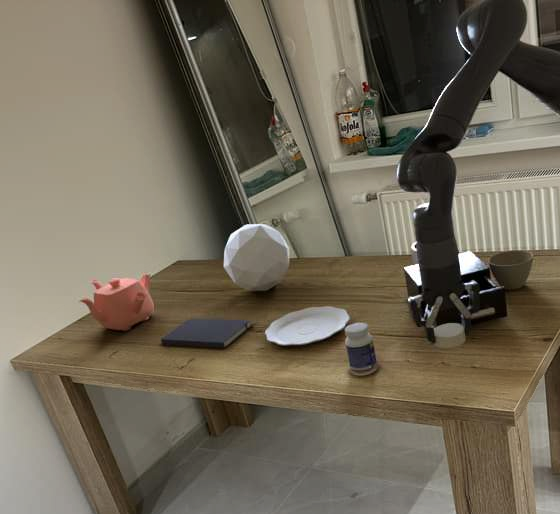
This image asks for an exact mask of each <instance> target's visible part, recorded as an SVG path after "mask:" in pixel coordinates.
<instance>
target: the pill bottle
mask: <svg viewBox="0 0 560 514" xmlns="http://www.w3.org/2000/svg"><path fill="white" fill-rule="evenodd" d="M344 333H345V336H346V338H345V339H344V340H345V341H344V344H345V349H346V354H347V359H348V365H349V369H350V372H351V374H353V375H355V376H358V377H359V376H368V375H371V374H373V373H374V372H376V371H377V369H378V359H377V356H376V350H375V344H374V339H373V336H372V334H371V333H369V326H368V324H367V323H365V322H354V323H352V324H349V325H347V326H345V327H344Z"/></svg>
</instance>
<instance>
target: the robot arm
mask: <svg viewBox="0 0 560 514" xmlns="http://www.w3.org/2000/svg"><path fill="white" fill-rule="evenodd" d="M527 24H528V9H527V6H526V3H525V1H524V0H480V1H478V2H477V3H474V4H473V5H471V6H469V7H468V8H466V9H465V10H464V11H463V12H462V13H461V14H460V16H459V18H458V19H457V23H456V33H457V38H458V40H459V42H460V44H461V46H462V47H463V48H464V50H465V51H466V52H467V53H468V55H470V57H469V58H468V59H467V61H466V63H464V65H463V66H462V67H461V68H460V70H459V71H458V72H457V73H456V75H454V77H453V78H452V79H451V80H450V82H449V83H448V84H447V85H446V86H445V88H444V90H443V91H442V92H441V95H440V96H439V97H438V99H437V101H436V103H435V106H434V107H433V109H432V112H431V113H430V116H429V118H428V120H427V123H426V125H425V126H424V128H423V129H422V130H421V131H420V132H419V133H418V134H417V136H416V137H415V138H414V139H413V141H412V142H411V143H410V144H409V145H408V146H407V148H406V149H405V151H404V152H403V153H402V156H401V157H400V158H399V161H398V163H397V168H396V181H397V184H398V186H399V187H400V189H402V190H403V191H404V192H407V193H412V194H413V193H418V194H419V193H420V194H422V193H423V194H425V193H426V194H429V198H428V202H426V203H422V204H420V205H418V206H417V207H416V208H415V209H414V210H413V212H412V223H413V229H414V236H415V243H416V251H417V258H418V265H419V271H420V278H421V284H422V291H421V294H420V295H418V296H415V297H412V296H409V297H408V296H407V298H406V301H407V305H408V307H409V311H410V315H411V318H412V321H413V323H414V324H415V326H416V327H417V328H424V333H425V334H424V335H425V338H426V340H427V341H428V343H431V345H435V344H434V343H436V341H435V334H434V329H435V328H434V326H433V323H434V318H436V316H437V313H438V311H443V310H445V309H451V308H454V306H456V307H457V308H458V309H459V310H460V312H461V313H462V315H461V322H462V325H463V326H464V328H465V336H469V335H470V332H472V331H473V327H472V326H473V325H471V315H472V314H474V313H478V312H479V310H480V285H479V284H478V283H477V282H476V281H475V280H471V281H470V283H463V282H462V278H461V270H460V262H459V254H460V251H459V248H458V242H457V238H456V235H455V227H454V219H453V205H454V199H455V198H454V197H455V192H456V191H455V190H456V184H457V179H458V178H457V177H458V169H457V165H456V162H455V160H454V158H453V156H452V155H451V154H449V152H451V151H453V150H456V149H457V148H458V147H459V146H460V145H461V143H462V141H463V140H464V137H465V136H466V133H467V131H468V129H469V127H470V124H471V123H472V120H473V118H474V116H475V113H476V112H477V109H478V108H479V105H480V104H481V101H482V100H483V98H484V97H485V95H486V93H487V91H488V89H489V88H490V86H491V85H492V83H493V81H494V80H495V78H496V76H497V75H498V74H499V73H501V74H502V75H503V76H505V77H506V78H508V79H509V80H511V81H512V82H513V83H514V84H516V85H517V86H518V87H520V88H521V89H523V90H524V91H525V92H527V93H528V94H529V95H531V96H532V97H533V98H535V100H536V101H538V102H539V103H540V104H542V105H543V106H544V107H545V108H547V109H548V110H550V111H551V112H552V113H554V114H555V115H556V116H558V117H559V118H560V51H558V50H554V49H551V48H548V47H543V46H538V45H535V44H532V43H531V44H530V43H527V42H524V41H522V40H521V38H522V37H523V35H524V33H525V31H526V27H527ZM465 289H466V290H467V292H468V293H469V306H468V307H467V308H466V307H465V306H464V305H463V303H462V302H461V301H460V298H461V296H462V294H463V293H464V291H465ZM422 300H423V301H424V302H426V303H427V307H426V310H425V315H424V318H421V316H420V314H419V310H418V307H420V303H421V301H422Z"/></svg>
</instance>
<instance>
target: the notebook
mask: <svg viewBox="0 0 560 514" xmlns="http://www.w3.org/2000/svg"><path fill="white" fill-rule="evenodd" d="M250 322H251V321H250V320H249V319H227V318H223V319H222V318H198V317H197V318H194V317H191V318H188V319H186V320H185V321H183V322H182V323H180V325H178V326H177V327H176V328H174V329H173V330H171V331H170V332H169V333H167V334H166V335H164V336H163V337H161V338H160V341H161V344H162V345H166V346H167V345H169V346H184V347H201V348H202V347H203V348H216V349H218V348H219V349H226V348H227V347H228V346H229V345H230V344H232V343H233V342H234V341H236V340H237V339H238V338H239V337H240V336H241V335H242V334H244V333H245V332H246V331H247V330H248V329H250V328H251V327H252V324H251V323H250Z"/></svg>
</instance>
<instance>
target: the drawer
mask: <svg viewBox="0 0 560 514" xmlns="http://www.w3.org/2000/svg"><path fill="white" fill-rule="evenodd" d="M471 280H475V281H476V282H477V283H478V284H479V285H480V310H479V312H478V313H474V314H472V315H471V326H475V325H479V324H484V323H487V322H491V321H496V320H500V319H504V318H508V307H507V295H506V293H507V292H506V289H505V287H503V286H502V287H501V286H498V285H497V284H496V283H495V281H493V280H492V278H491V279H490V278H488V277H487V276H486V275H485V274H484V273H481V274H477V275H473V276H468V277H464V278H462V282H463V283H470V281H471ZM460 301H461V302H462V303H463V305H464V306H465V307H466V308H467V307H468V306H469V293H468V292H467V290H466V289H465V291H464V293H463V294H462V296H461V298H460ZM424 303H425V310H426V307H427V303H426V302H424ZM461 315H462V313H461V312H460V310H459V309H458V308H457V307H456V306H454V308H451V309H445V310H443V311H438V313H437V316H436V318H434V321H433V323H434V325H435V328H436V327H438V326H440V325H443V324H448V323H457V324H461V325H462V322H461Z"/></svg>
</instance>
